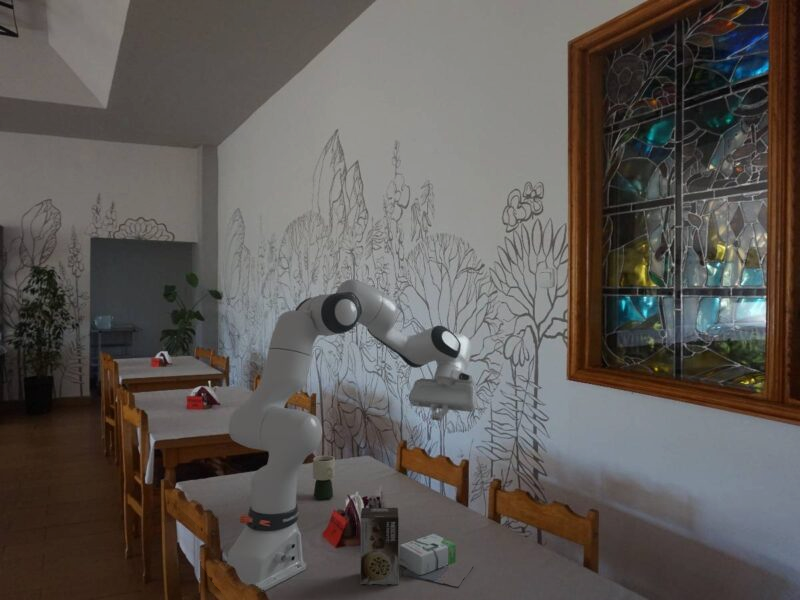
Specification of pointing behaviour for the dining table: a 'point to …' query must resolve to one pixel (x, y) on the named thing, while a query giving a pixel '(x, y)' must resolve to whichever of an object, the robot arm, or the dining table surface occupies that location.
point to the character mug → (323, 476)
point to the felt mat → (429, 574)
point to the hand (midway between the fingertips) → (436, 419)
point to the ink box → (427, 554)
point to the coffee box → (379, 546)
